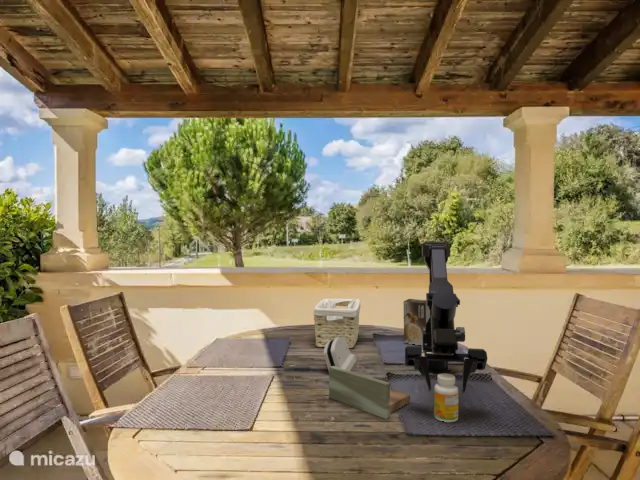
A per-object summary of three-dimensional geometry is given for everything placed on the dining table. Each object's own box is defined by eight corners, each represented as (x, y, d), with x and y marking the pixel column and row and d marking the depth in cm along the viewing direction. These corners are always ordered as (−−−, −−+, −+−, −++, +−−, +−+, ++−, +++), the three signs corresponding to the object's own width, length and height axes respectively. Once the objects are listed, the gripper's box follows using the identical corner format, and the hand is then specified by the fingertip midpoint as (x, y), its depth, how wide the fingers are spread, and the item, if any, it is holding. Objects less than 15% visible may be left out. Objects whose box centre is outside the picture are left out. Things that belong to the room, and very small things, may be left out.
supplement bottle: (430, 413, 104) (430, 372, 104) (452, 412, 105) (453, 371, 104) (438, 423, 99) (439, 380, 98) (462, 422, 99) (462, 380, 99)
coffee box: (432, 343, 164) (432, 300, 164) (426, 347, 159) (426, 303, 158) (409, 339, 170) (409, 298, 169) (402, 343, 164) (402, 300, 164)
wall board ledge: (357, 385, 122) (357, 357, 122) (413, 403, 110) (413, 372, 109) (329, 397, 114) (328, 367, 114) (386, 418, 101) (386, 384, 101)
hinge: (346, 376, 129) (334, 344, 130) (331, 381, 130) (320, 348, 131) (356, 359, 145) (346, 330, 146) (343, 363, 147) (333, 334, 147)
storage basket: (322, 332, 182) (322, 297, 182) (361, 333, 180) (361, 297, 179) (312, 349, 159) (312, 308, 158) (357, 350, 156) (357, 309, 156)
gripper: (405, 312, 107) (404, 373, 96) (486, 315, 103) (495, 378, 92) (405, 336, 115) (405, 394, 104) (480, 339, 111) (488, 400, 100)
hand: (446, 391), depth 100 cm, fingers open, 7 cm apart
